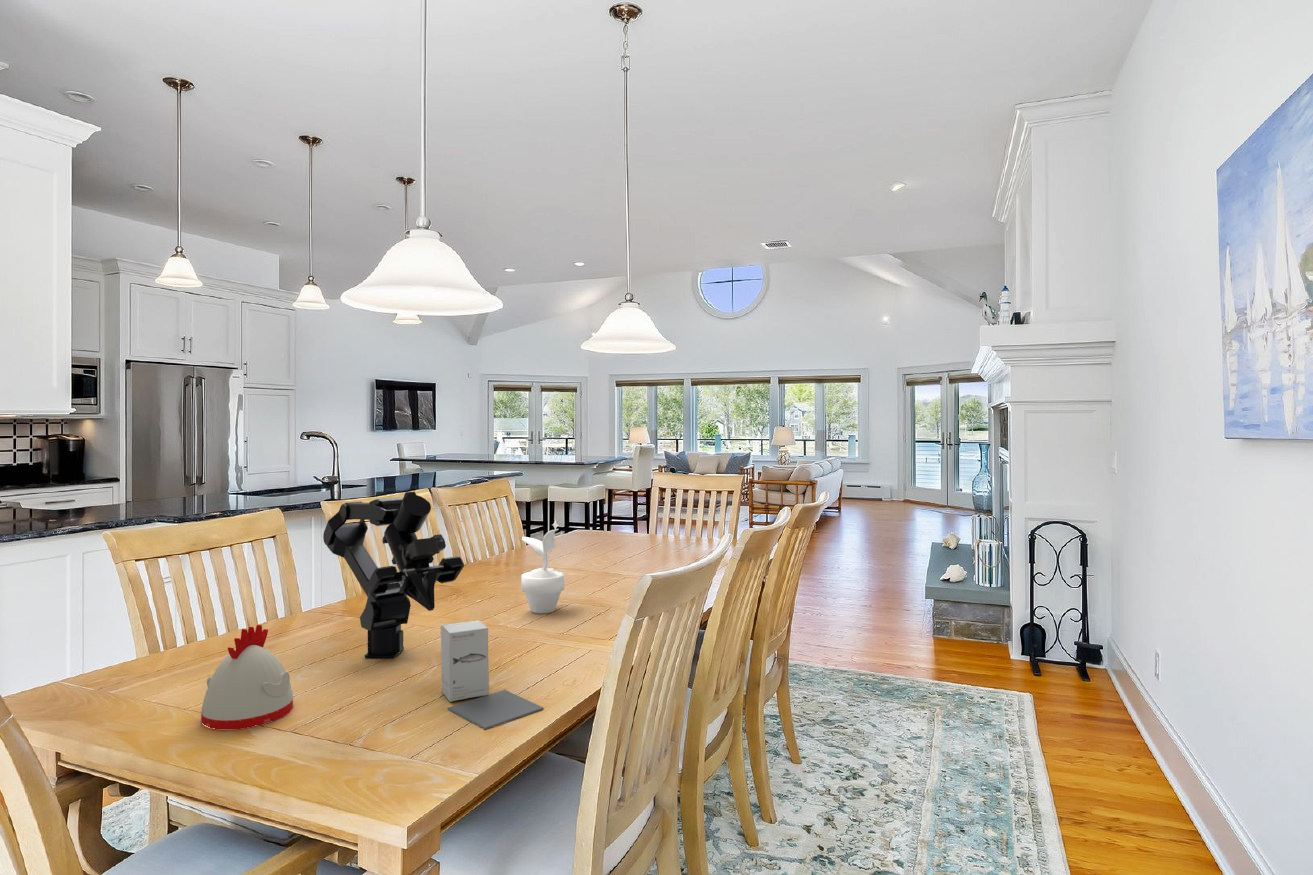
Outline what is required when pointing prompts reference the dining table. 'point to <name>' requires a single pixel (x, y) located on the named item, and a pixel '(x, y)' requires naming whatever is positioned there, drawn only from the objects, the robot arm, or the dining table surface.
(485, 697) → the mat
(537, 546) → the potted plant
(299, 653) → the dining table surface
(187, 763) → the dining table surface
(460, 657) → the supplement box
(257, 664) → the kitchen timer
